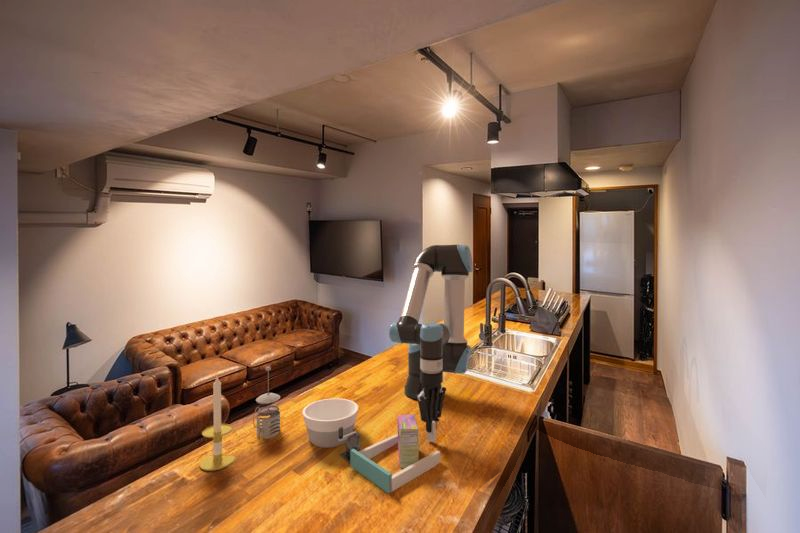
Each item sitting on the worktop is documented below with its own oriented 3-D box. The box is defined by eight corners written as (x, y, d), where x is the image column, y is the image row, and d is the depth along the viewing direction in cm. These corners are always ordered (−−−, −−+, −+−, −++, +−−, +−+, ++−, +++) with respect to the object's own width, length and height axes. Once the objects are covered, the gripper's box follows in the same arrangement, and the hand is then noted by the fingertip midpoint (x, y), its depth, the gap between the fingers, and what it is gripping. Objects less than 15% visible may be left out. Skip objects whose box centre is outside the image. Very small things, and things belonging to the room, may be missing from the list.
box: (397, 450, 118) (397, 414, 118) (414, 449, 118) (414, 414, 118) (399, 468, 107) (399, 429, 107) (418, 467, 108) (418, 428, 108)
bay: (350, 466, 108) (350, 450, 108) (401, 442, 123) (401, 427, 123) (388, 493, 96) (388, 475, 96) (440, 463, 110) (440, 447, 110)
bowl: (309, 460, 112) (309, 425, 112) (297, 433, 129) (297, 403, 129) (366, 445, 121) (366, 413, 121) (348, 422, 138) (348, 394, 138)
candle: (231, 468, 107) (230, 379, 107) (194, 472, 105) (193, 381, 105) (238, 451, 117) (238, 369, 117) (205, 454, 115) (204, 371, 114)
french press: (288, 432, 130) (288, 364, 129) (267, 448, 119) (266, 373, 118) (266, 428, 133) (266, 361, 132) (243, 443, 122) (242, 370, 121)
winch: (333, 459, 112) (333, 425, 112) (355, 449, 118) (355, 417, 118) (344, 467, 108) (344, 432, 108) (366, 457, 114) (366, 423, 113)
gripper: (426, 377, 113) (426, 451, 113) (452, 368, 122) (452, 437, 122) (409, 372, 118) (409, 442, 119) (435, 364, 127) (435, 430, 128)
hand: (431, 440), depth 120 cm, fingers closed
